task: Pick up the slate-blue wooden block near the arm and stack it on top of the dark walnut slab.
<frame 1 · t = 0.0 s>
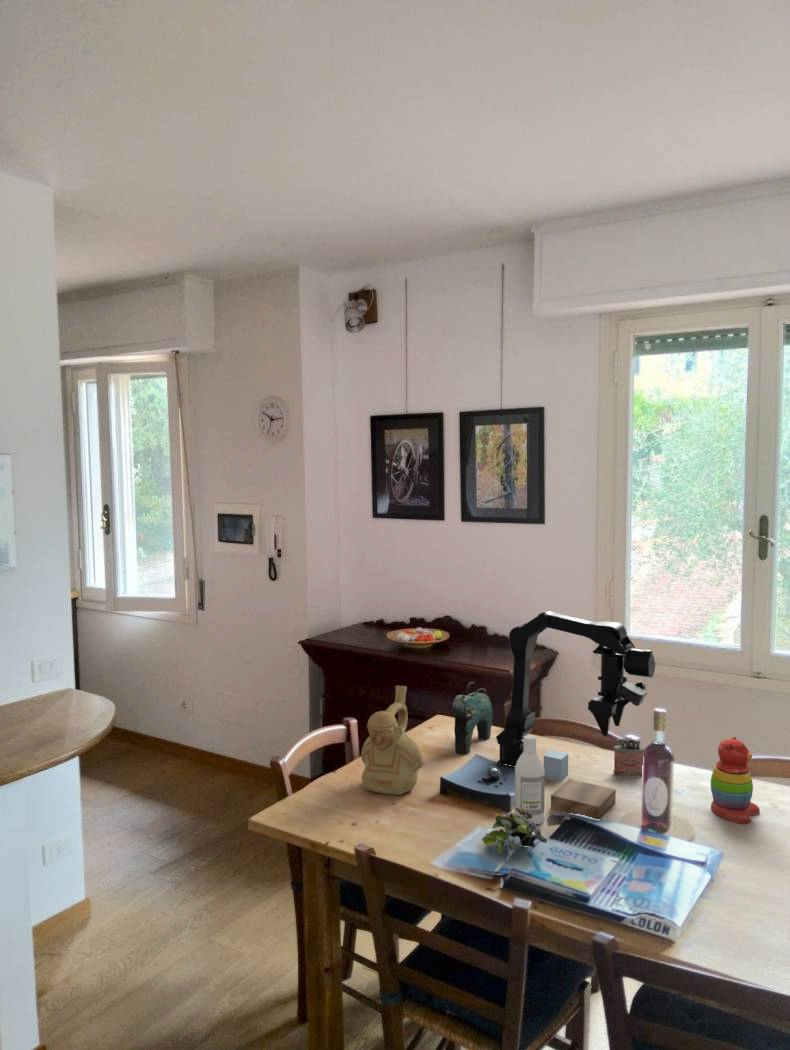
hand: (611, 730, 202), 15 cm above the table, tool pointing down, fingers open, 9 cm apart
slate block: (555, 776, 209), on the table
lighter: (628, 775, 210), on the table
green elephant figurine: (472, 746, 233), on the table
green leafy plant: (513, 854, 167), on the table
ceramic vessel: (392, 786, 203), on the table
bath foam: (529, 820, 183), on the table
walnut slab: (583, 808, 190), on the table
stacking bear: (732, 812, 187), on the table
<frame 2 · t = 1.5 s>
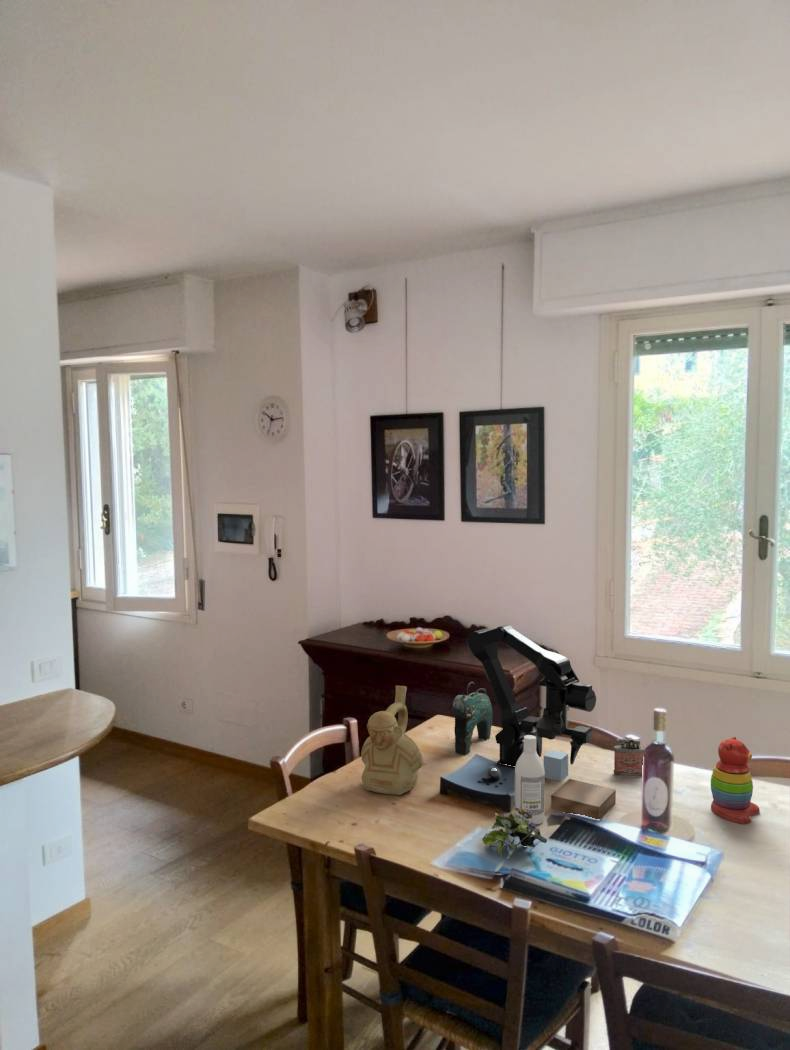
hand: (555, 760, 209), 4 cm above the table, tool pointing down, fingers open, 9 cm apart
nothing on the table moved.
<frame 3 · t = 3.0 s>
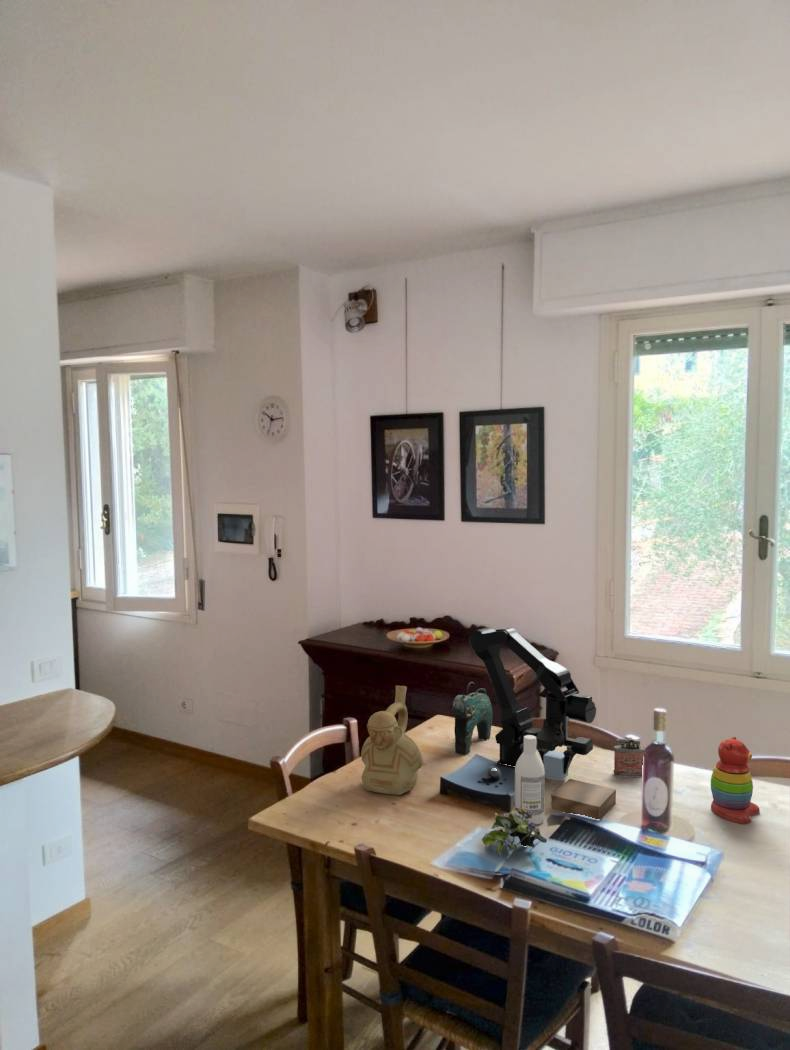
hand: (555, 771, 209), 1 cm above the table, tool pointing down, fingers closed on slate block, 5 cm apart
slate block: (555, 776, 209), on the table, touching gripper
everything else where it was.
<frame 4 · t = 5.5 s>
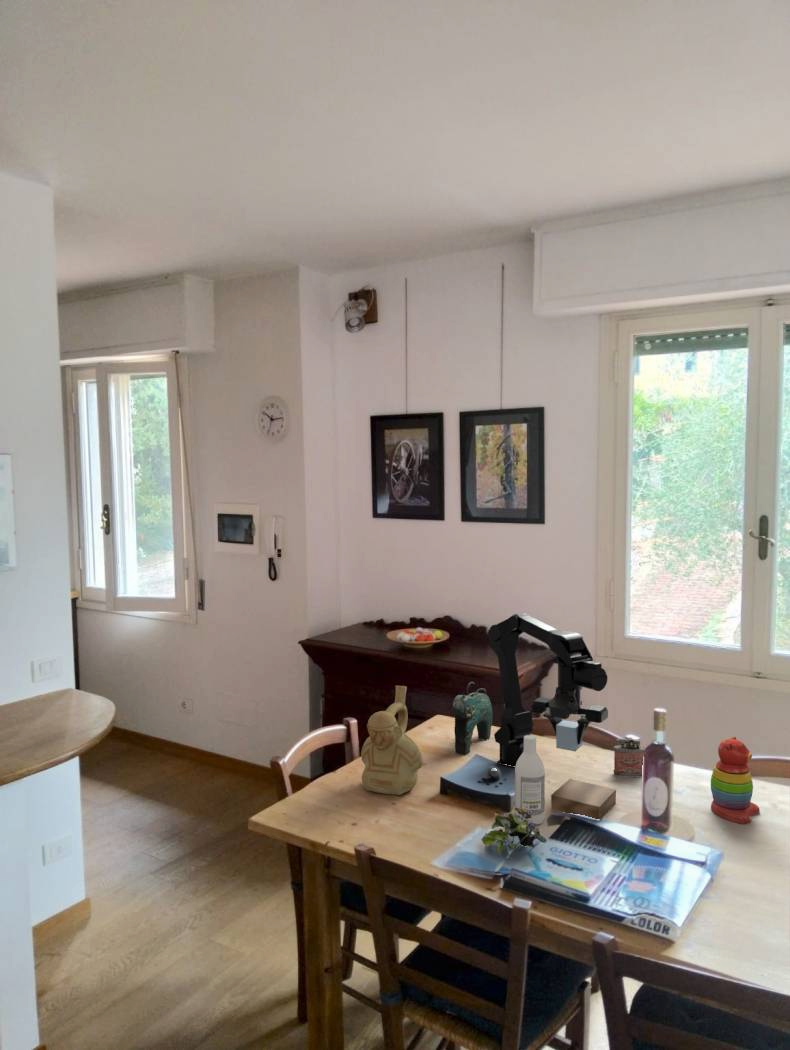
hand: (569, 742, 200), 12 cm above the table, tool pointing down, fingers closed on slate block, 5 cm apart
slate block: (569, 746, 200), point 11 cm above the table, touching gripper
everything else where it was.
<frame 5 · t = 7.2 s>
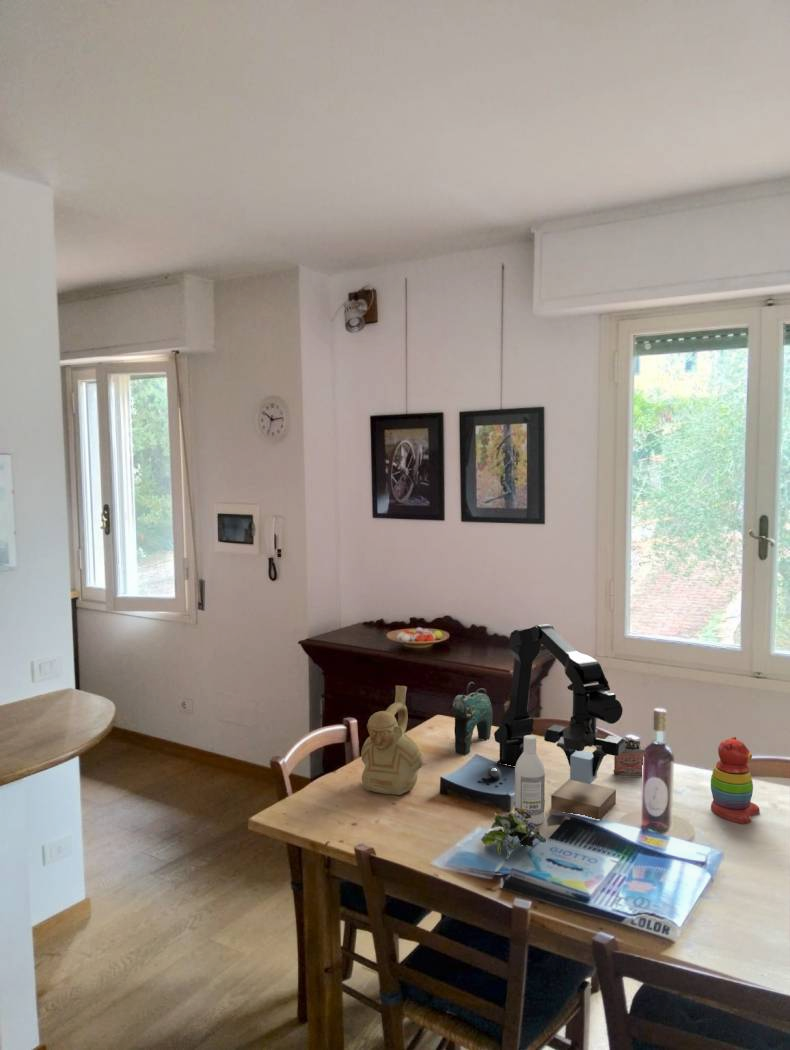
hand: (583, 773, 190), 8 cm above the table, tool pointing down, fingers closed on slate block, 5 cm apart
slate block: (583, 778, 190), point 7 cm above the table, touching gripper
everything else where it was.
when the fingers open (7 cm above the table, at t = 8.3 s): slate block drops 2 cm, resting on walnut slab.
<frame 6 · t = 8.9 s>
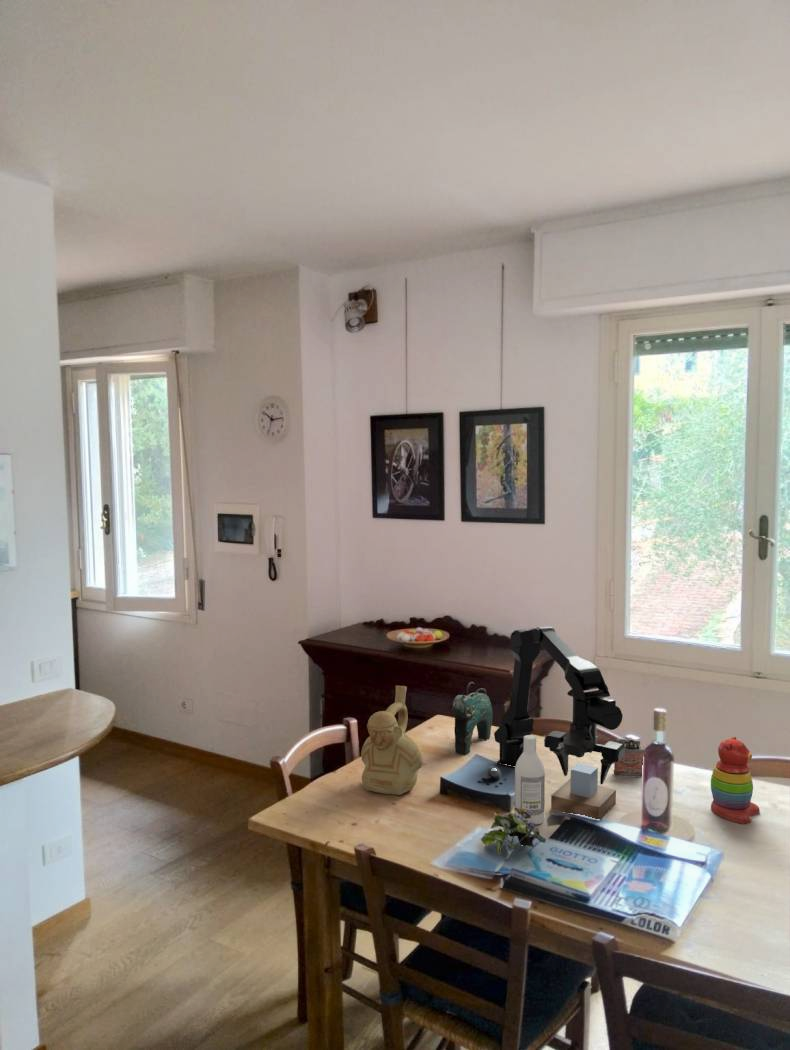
hand: (583, 779, 190), 7 cm above the table, tool pointing down, fingers open, 9 cm apart
slate block: (583, 792, 190), point 3 cm above the table, touching walnut slab
walnut slab: (583, 808, 190), on the table, touching slate block
everything else where it was.
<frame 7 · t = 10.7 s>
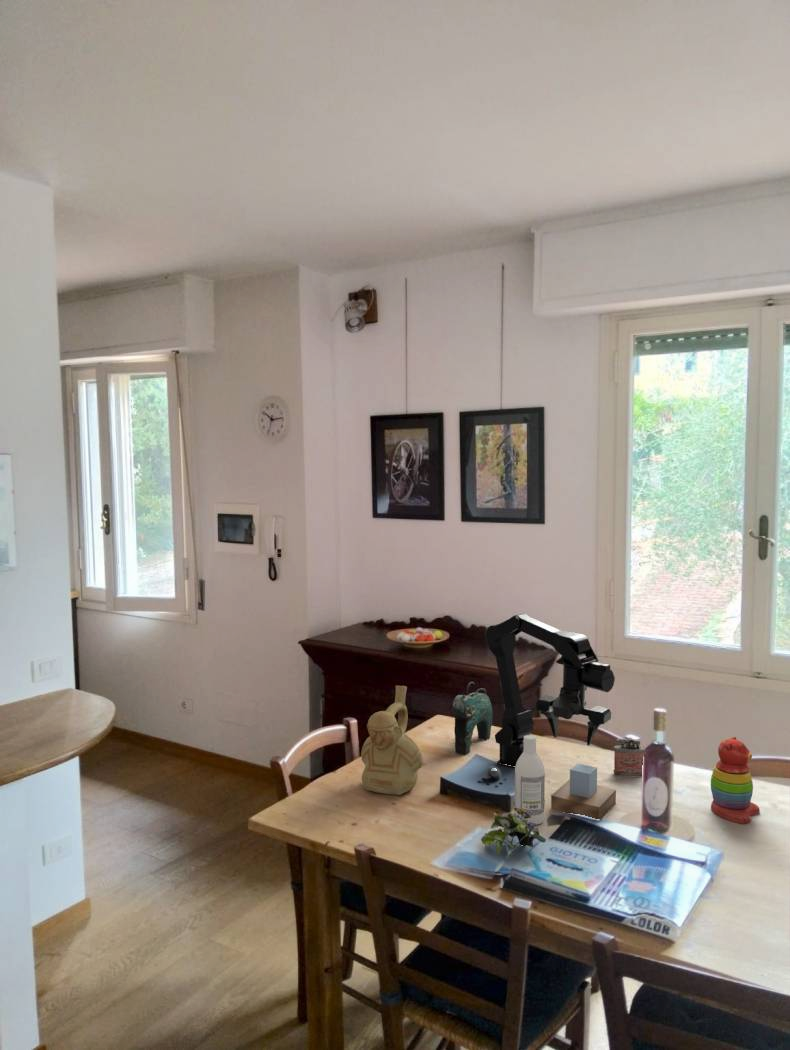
hand: (571, 741, 203), 12 cm above the table, tool pointing down, fingers open, 9 cm apart
nothing on the table moved.
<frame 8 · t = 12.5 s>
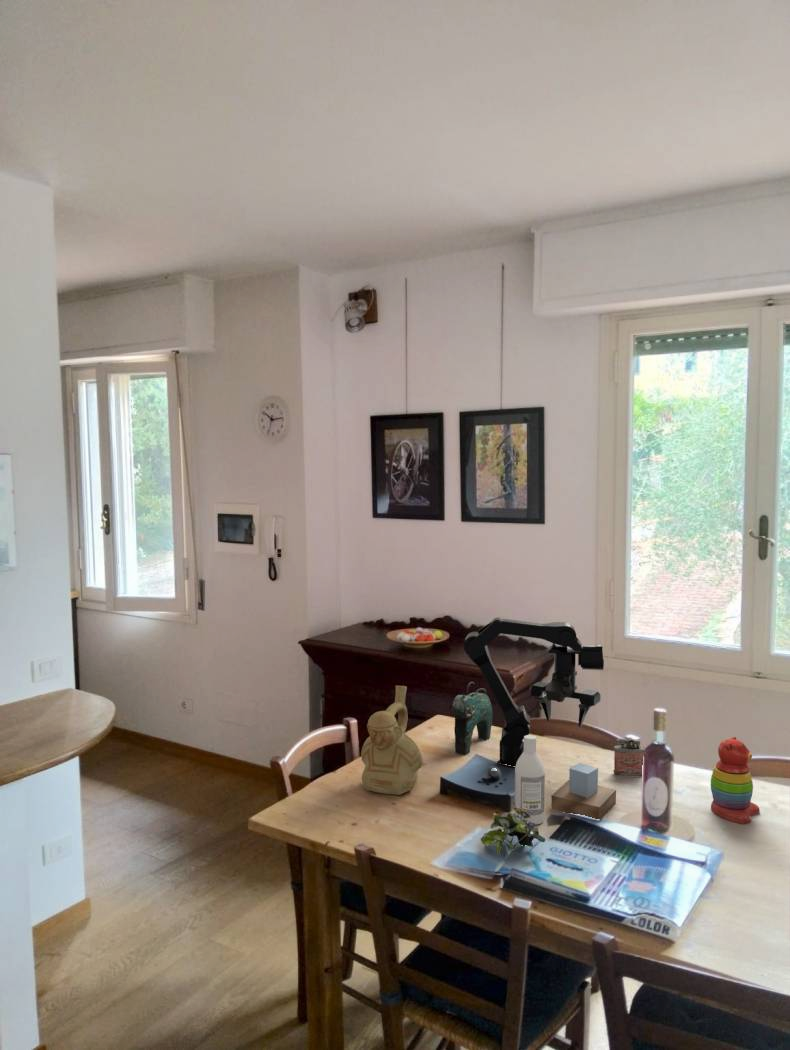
hand: (564, 723, 215), 12 cm above the table, tool pointing down, fingers open, 9 cm apart
slate block: (583, 792, 190), point 4 cm above the table
walnut slab: (583, 808, 190), on the table
everything else where it was.
at the end: slate block inside the target area on the walnut slab (0.2 cm from its centre), point 4.0 cm above the walnut slab's base; slate block tilted 0°; the gripper is holding nothing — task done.
